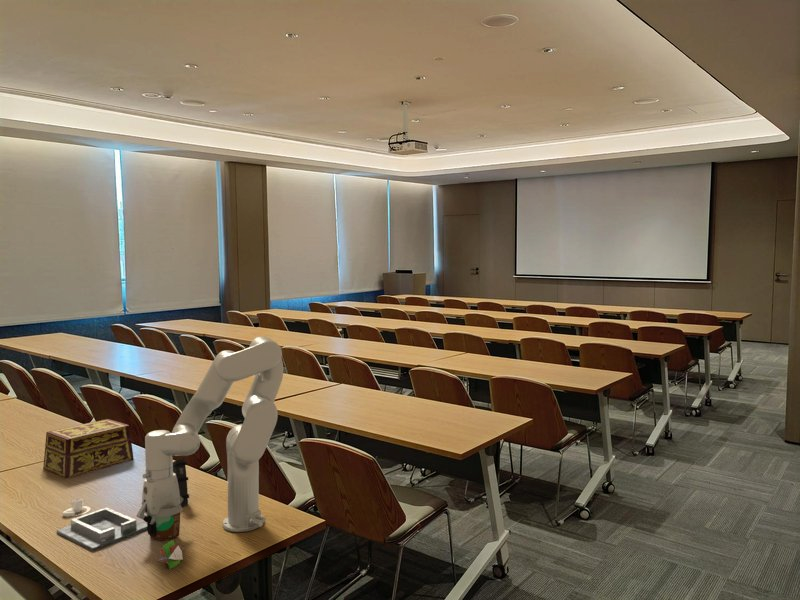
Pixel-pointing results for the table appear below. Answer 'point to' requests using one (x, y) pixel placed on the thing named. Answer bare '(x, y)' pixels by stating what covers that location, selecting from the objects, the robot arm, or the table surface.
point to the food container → (167, 523)
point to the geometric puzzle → (171, 554)
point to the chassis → (101, 528)
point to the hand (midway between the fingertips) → (161, 530)
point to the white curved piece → (76, 508)
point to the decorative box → (87, 447)
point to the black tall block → (181, 479)
